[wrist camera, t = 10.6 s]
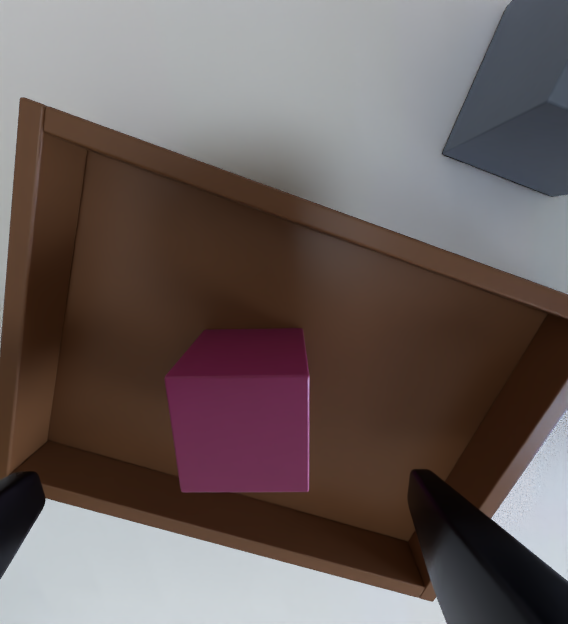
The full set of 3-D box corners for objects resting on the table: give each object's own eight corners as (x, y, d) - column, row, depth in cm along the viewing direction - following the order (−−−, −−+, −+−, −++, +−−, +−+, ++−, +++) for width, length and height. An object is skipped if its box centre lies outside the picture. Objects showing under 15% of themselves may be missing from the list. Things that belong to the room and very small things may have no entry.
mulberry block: (303, 327, 12) (309, 375, 8) (303, 414, 13) (309, 492, 9) (204, 329, 12) (163, 377, 8) (212, 414, 13) (180, 493, 9)
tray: (559, 299, 12) (632, 317, 9) (409, 542, 16) (433, 602, 13) (83, 127, 10) (18, 94, 8) (42, 438, 14) (-12, 483, 12)
